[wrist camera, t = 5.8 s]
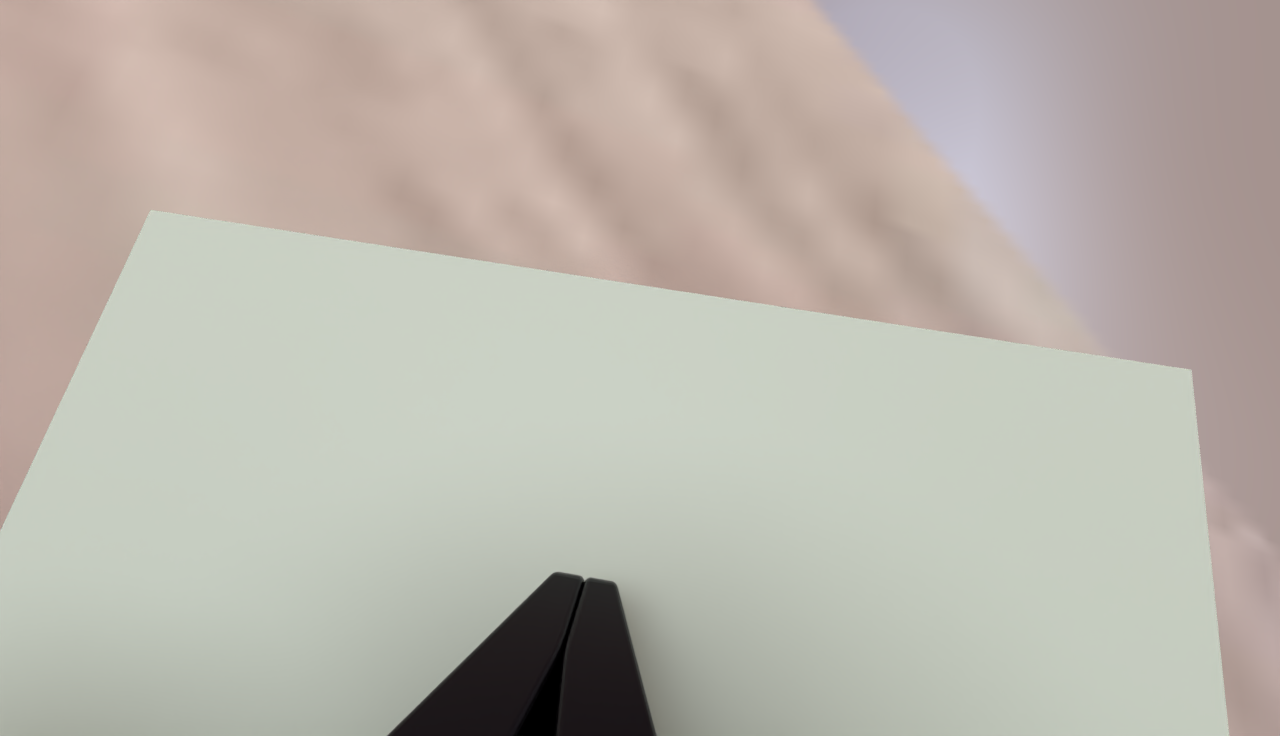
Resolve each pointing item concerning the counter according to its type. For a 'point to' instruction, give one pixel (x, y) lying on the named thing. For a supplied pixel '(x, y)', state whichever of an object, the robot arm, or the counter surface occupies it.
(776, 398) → the lid
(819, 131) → the counter surface
